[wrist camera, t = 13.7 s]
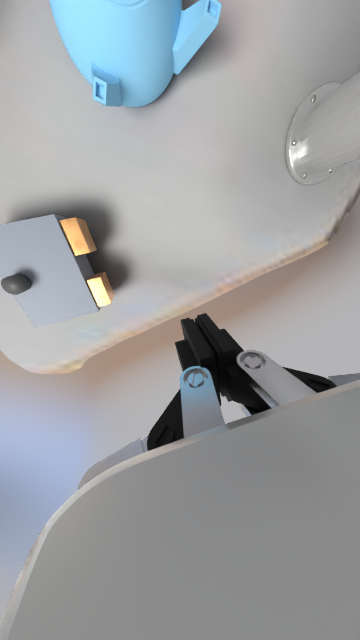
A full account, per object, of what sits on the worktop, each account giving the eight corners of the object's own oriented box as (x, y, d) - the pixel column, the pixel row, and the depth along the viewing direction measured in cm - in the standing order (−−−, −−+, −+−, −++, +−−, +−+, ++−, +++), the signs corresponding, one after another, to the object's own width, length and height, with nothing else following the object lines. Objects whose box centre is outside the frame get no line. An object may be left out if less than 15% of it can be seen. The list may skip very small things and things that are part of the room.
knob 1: (85, 220, 27) (75, 217, 23) (96, 250, 29) (89, 252, 25) (2, 236, 26) (-24, 237, 21) (21, 266, 28) (0, 272, 23)
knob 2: (105, 271, 31) (100, 277, 26) (114, 294, 33) (110, 303, 28) (34, 288, 29) (16, 297, 25) (48, 311, 31) (34, 323, 27)
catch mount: (70, 218, 28) (46, 212, 20) (104, 299, 34) (96, 316, 27) (3, 231, 27) (-47, 230, 19) (52, 312, 33) (28, 334, 26)
